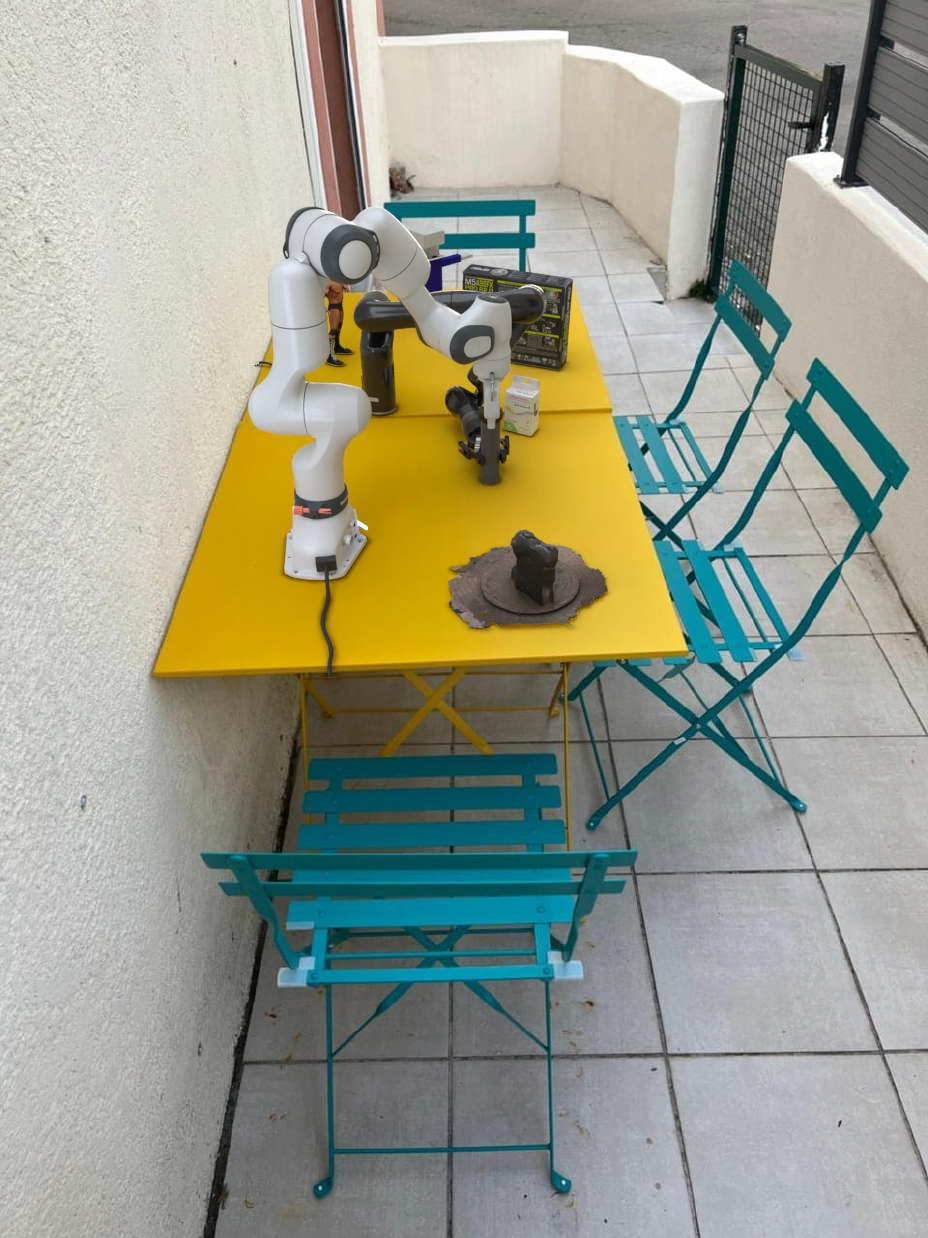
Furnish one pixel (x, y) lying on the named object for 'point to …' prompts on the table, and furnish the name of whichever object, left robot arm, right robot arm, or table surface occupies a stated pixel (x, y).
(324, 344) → the left robot arm
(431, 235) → the toy
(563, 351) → the box
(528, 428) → the ink box
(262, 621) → the table surface
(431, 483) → the table surface
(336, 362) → the figurine
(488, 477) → the dark grey cylinder
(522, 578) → the sculpture
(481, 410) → the lid
